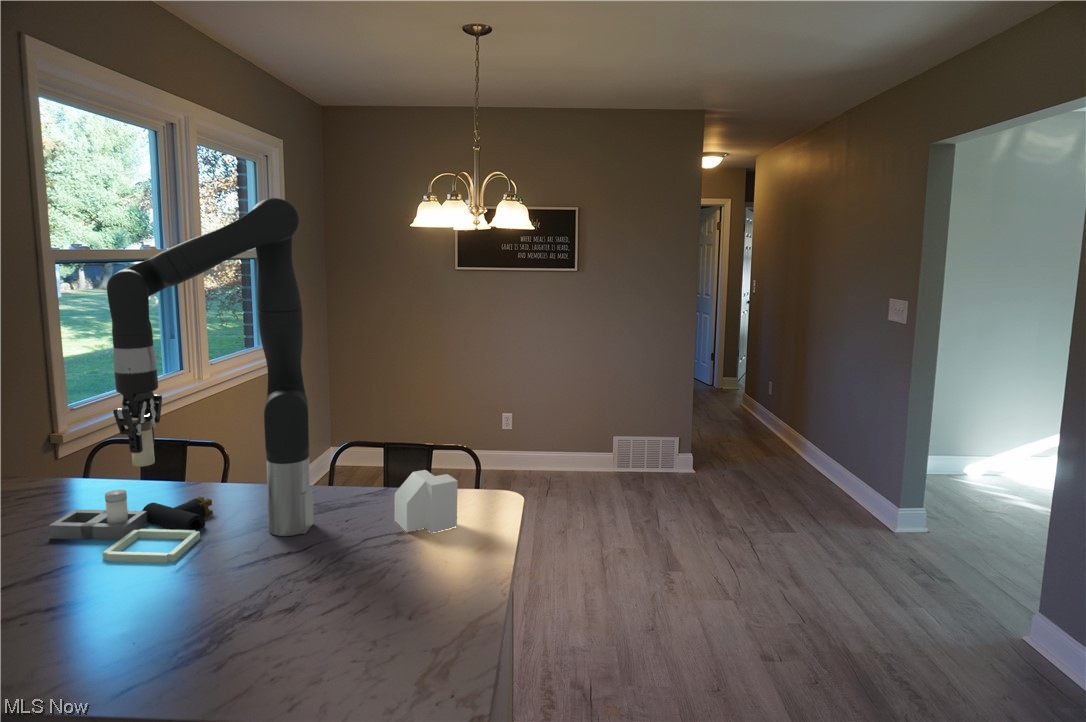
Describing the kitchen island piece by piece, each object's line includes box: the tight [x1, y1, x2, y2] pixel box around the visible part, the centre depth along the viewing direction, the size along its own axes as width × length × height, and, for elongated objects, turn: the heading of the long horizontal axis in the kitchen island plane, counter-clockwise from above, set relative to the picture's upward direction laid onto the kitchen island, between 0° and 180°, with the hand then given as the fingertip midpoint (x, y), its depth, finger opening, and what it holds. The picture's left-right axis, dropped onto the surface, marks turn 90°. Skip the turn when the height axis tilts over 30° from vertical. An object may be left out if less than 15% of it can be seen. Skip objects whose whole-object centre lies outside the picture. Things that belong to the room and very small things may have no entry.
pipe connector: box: [141, 496, 214, 531], centre depth 161 cm, size 12×5×15 cm
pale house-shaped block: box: [394, 469, 459, 534], centre depth 164 cm, size 11×11×12 cm
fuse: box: [104, 489, 129, 524], centre depth 153 cm, size 4×4×9 cm
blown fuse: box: [131, 419, 156, 468], centre depth 143 cm, size 4×4×9 cm
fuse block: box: [48, 508, 149, 541], centre depth 153 cm, size 16×9×4 cm, turn 91°
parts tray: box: [102, 528, 201, 566], centre depth 146 cm, size 14×12×2 cm
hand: (142, 448), depth 143 cm, fingers closed on blown fuse, 4 cm apart
